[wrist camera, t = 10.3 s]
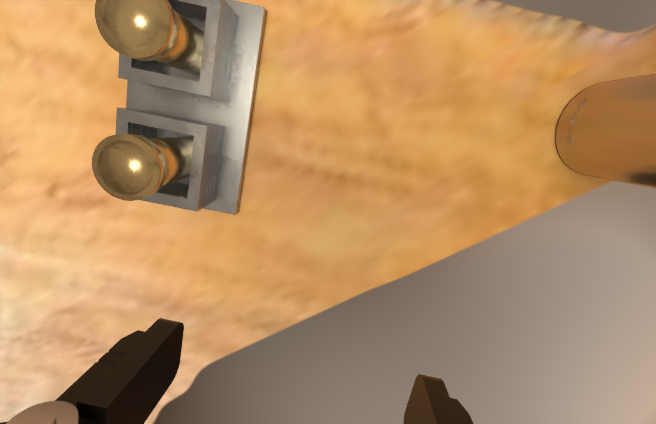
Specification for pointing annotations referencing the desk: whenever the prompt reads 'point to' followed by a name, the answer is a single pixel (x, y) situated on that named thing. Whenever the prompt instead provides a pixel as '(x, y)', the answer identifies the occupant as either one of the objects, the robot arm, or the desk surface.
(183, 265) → the desk surface
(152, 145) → the brass stub
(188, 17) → the grey double holder
